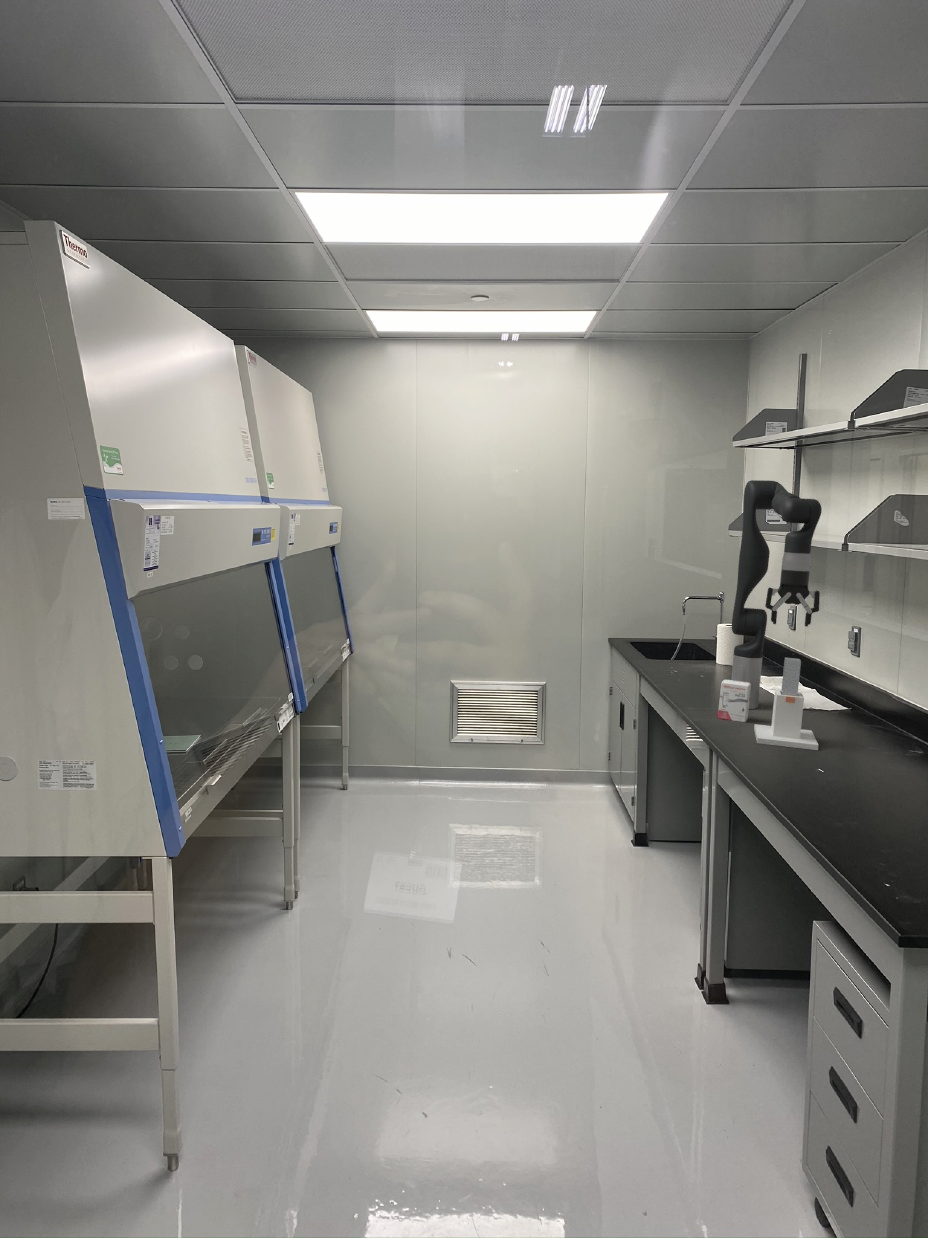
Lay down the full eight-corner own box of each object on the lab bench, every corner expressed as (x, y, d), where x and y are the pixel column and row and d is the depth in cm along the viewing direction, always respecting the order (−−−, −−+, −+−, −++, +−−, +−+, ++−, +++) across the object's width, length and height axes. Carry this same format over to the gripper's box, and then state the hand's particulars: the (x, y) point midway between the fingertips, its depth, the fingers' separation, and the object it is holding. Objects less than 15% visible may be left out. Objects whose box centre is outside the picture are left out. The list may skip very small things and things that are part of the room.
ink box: (716, 718, 256) (720, 681, 255) (719, 715, 261) (723, 679, 259) (745, 722, 252) (748, 685, 251) (747, 719, 257) (751, 682, 255)
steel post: (776, 731, 238) (784, 657, 235) (792, 732, 237) (799, 658, 233) (778, 734, 234) (785, 659, 231) (793, 736, 233) (801, 661, 229)
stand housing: (754, 729, 245) (758, 685, 243) (811, 735, 241) (815, 691, 239) (757, 743, 230) (761, 696, 228) (817, 750, 226) (823, 703, 224)
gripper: (820, 569, 233) (815, 625, 235) (768, 566, 237) (763, 621, 239) (824, 571, 226) (818, 628, 228) (769, 567, 230) (764, 624, 232)
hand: (790, 625), depth 234 cm, fingers open, 8 cm apart
